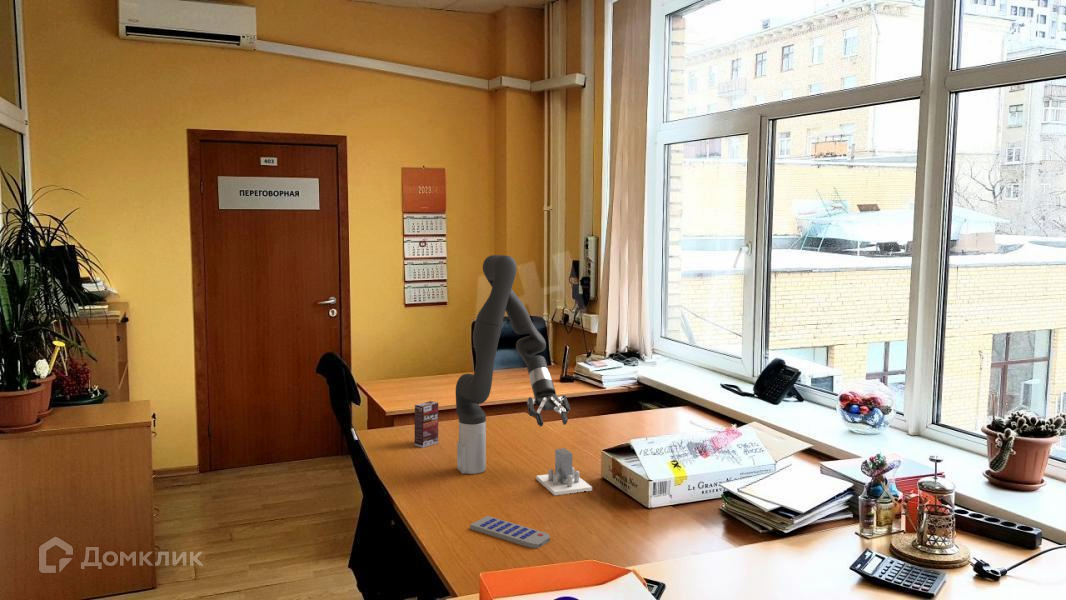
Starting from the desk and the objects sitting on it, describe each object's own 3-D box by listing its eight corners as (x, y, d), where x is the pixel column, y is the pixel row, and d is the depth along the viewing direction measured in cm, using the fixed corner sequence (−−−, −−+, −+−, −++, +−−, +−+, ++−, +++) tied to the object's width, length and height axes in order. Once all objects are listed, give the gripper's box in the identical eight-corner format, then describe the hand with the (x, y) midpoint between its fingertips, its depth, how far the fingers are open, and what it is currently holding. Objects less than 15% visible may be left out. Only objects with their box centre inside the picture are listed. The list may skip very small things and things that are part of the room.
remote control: (487, 522, 225) (487, 514, 225) (552, 541, 212) (552, 533, 212) (470, 531, 218) (469, 523, 218) (535, 551, 205) (535, 543, 205)
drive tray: (554, 495, 245) (554, 481, 244) (536, 479, 259) (536, 465, 259) (592, 490, 249) (592, 476, 249) (571, 474, 264) (572, 461, 263)
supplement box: (423, 448, 292) (422, 406, 290) (414, 445, 295) (413, 404, 293) (439, 442, 299) (439, 402, 297) (430, 440, 302) (430, 400, 300)
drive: (562, 485, 251) (562, 454, 250) (554, 478, 256) (555, 449, 255) (572, 483, 252) (572, 453, 251) (564, 477, 258) (565, 448, 257)
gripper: (525, 378, 264) (536, 420, 255) (564, 376, 269) (576, 417, 260) (519, 390, 270) (530, 431, 261) (557, 388, 275) (569, 428, 266)
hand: (553, 424), depth 260 cm, fingers open, 8 cm apart
